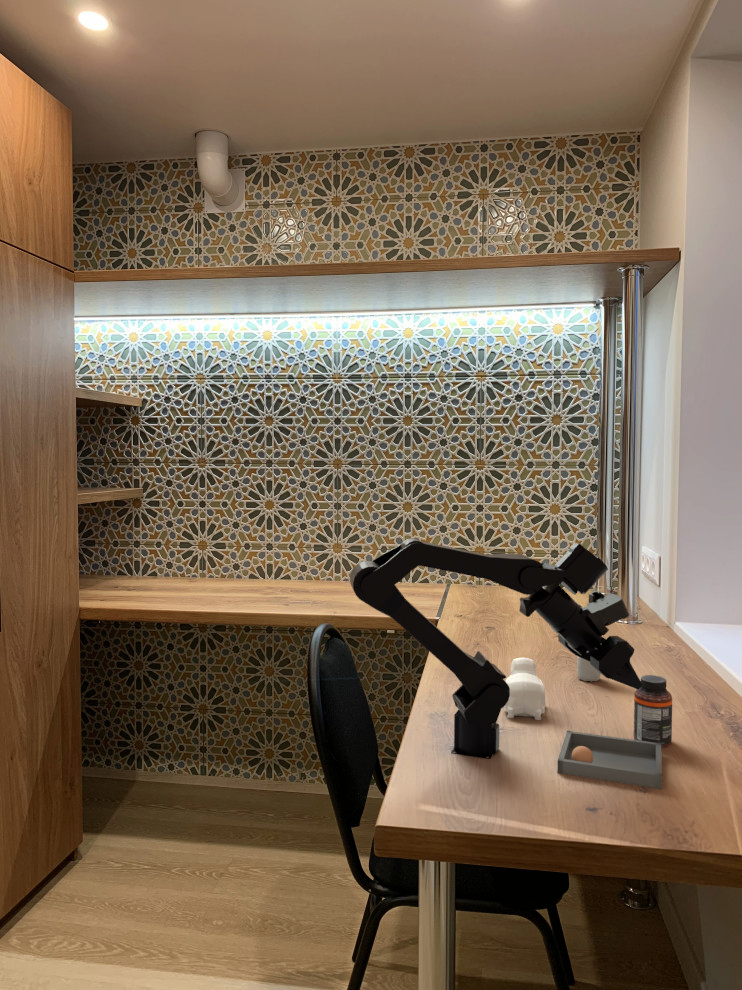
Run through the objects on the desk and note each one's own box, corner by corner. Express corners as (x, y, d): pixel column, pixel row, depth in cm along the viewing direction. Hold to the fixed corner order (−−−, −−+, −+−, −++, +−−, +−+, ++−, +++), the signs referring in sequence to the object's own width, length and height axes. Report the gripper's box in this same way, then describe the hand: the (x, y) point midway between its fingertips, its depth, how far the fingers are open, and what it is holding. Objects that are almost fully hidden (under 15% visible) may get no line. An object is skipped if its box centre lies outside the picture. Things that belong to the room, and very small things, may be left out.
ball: (570, 769, 111) (570, 749, 110) (572, 761, 114) (572, 741, 113) (592, 773, 110) (592, 752, 109) (593, 764, 112) (594, 744, 112)
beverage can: (584, 674, 161) (585, 620, 160) (604, 679, 157) (605, 624, 157) (572, 678, 157) (573, 624, 157) (593, 683, 154) (594, 627, 153)
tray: (557, 776, 110) (557, 760, 110) (566, 745, 121) (567, 730, 121) (661, 792, 104) (661, 775, 104) (660, 758, 116) (661, 743, 116)
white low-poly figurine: (547, 737, 133) (544, 683, 146) (549, 700, 129) (545, 649, 143) (500, 734, 134) (501, 681, 148) (500, 697, 131) (501, 647, 144)
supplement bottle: (640, 734, 126) (642, 670, 125) (676, 743, 122) (677, 677, 122) (628, 745, 122) (629, 678, 121) (664, 754, 118) (666, 686, 117)
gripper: (622, 589, 110) (690, 659, 112) (576, 570, 129) (634, 629, 130) (571, 642, 110) (640, 711, 111) (532, 615, 128) (592, 674, 130)
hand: (627, 678), depth 121 cm, fingers open, 9 cm apart
